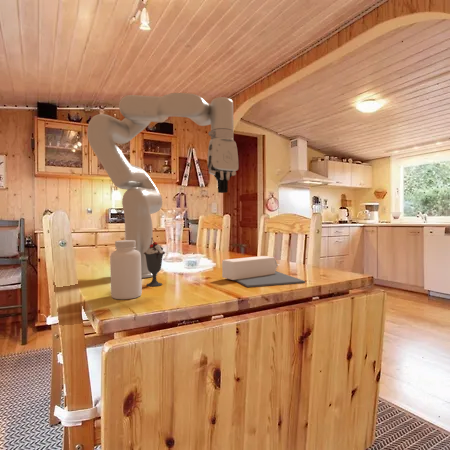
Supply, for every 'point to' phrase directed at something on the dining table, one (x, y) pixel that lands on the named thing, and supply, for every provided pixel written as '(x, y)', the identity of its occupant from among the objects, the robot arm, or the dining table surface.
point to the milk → (248, 267)
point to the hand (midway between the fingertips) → (222, 192)
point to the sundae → (154, 261)
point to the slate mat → (269, 280)
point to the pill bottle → (125, 270)
